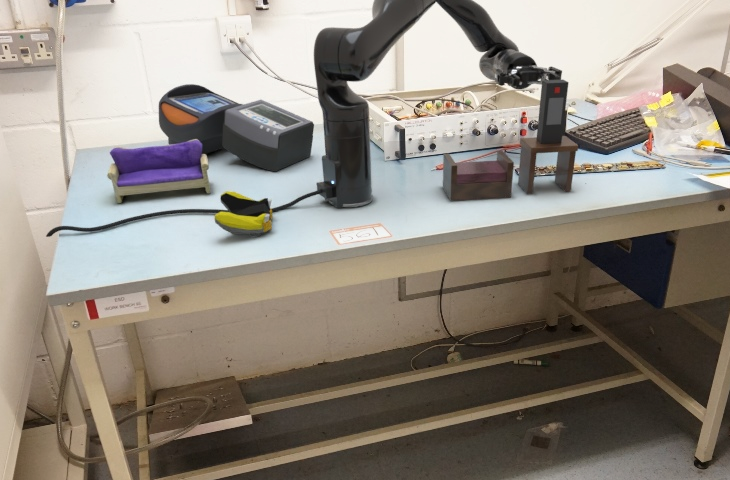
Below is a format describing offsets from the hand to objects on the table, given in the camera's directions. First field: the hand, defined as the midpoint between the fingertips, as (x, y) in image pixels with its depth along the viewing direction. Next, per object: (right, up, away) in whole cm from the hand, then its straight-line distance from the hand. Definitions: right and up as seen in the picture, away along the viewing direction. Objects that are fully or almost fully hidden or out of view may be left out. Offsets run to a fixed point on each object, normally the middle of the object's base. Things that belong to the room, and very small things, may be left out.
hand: (537, 82), depth 141 cm
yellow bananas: (-60, -35, -15) cm, 71 cm away
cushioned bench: (-14, -24, -1) cm, 28 cm away
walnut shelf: (+2, -23, +1) cm, 23 cm away
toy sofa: (-82, -24, +4) cm, 86 cm away
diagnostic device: (-71, -8, +28) cm, 77 cm away
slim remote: (+1, -14, -4) cm, 15 cm away
